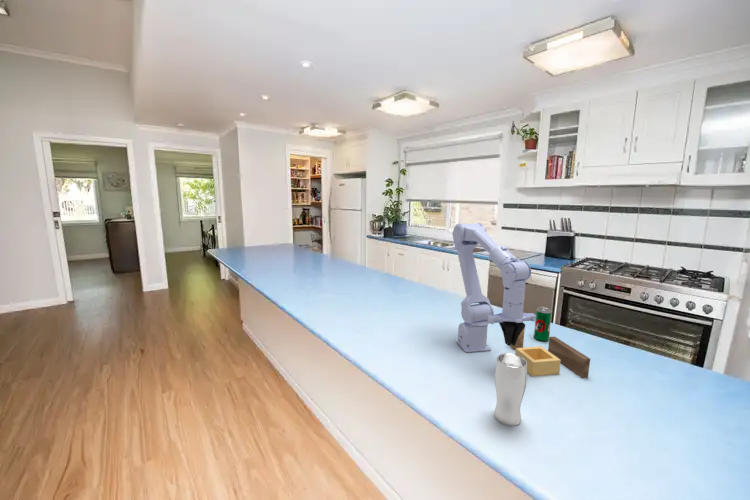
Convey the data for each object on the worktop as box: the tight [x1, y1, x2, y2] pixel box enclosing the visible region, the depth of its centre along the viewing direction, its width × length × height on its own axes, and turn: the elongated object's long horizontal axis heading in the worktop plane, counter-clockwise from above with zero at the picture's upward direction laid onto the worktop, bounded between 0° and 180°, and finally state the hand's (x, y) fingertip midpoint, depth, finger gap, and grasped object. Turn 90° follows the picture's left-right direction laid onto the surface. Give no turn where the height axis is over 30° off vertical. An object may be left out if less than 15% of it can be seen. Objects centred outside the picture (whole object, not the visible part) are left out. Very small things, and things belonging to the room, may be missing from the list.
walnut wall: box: [547, 336, 591, 379], centre depth 102 cm, size 2×15×6 cm, turn 8°
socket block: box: [514, 345, 562, 377], centre depth 101 cm, size 9×9×4 cm
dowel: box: [510, 327, 526, 351], centre depth 113 cm, size 4×4×8 cm
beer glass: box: [493, 353, 528, 427], centre depth 77 cm, size 7×7×15 cm
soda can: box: [533, 306, 553, 342], centre depth 120 cm, size 5×5×12 cm
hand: (510, 344), depth 98 cm, fingers closed
